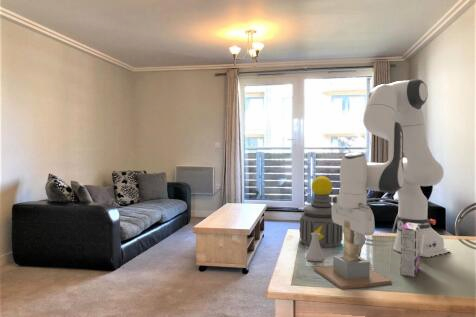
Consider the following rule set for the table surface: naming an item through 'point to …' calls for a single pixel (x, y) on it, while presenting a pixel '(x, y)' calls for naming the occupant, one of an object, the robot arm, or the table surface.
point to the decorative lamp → (320, 217)
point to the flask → (315, 249)
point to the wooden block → (349, 244)
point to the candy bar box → (410, 249)
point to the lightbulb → (361, 244)
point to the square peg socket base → (351, 273)
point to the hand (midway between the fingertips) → (351, 242)
